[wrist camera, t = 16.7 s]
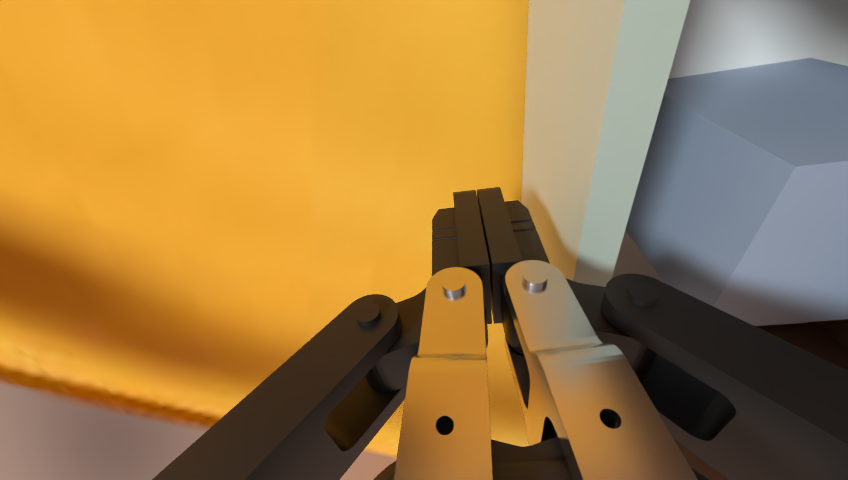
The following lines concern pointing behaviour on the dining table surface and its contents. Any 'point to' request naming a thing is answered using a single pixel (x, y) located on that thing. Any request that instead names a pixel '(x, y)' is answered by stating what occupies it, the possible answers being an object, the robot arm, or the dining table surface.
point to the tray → (633, 103)
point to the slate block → (751, 191)
